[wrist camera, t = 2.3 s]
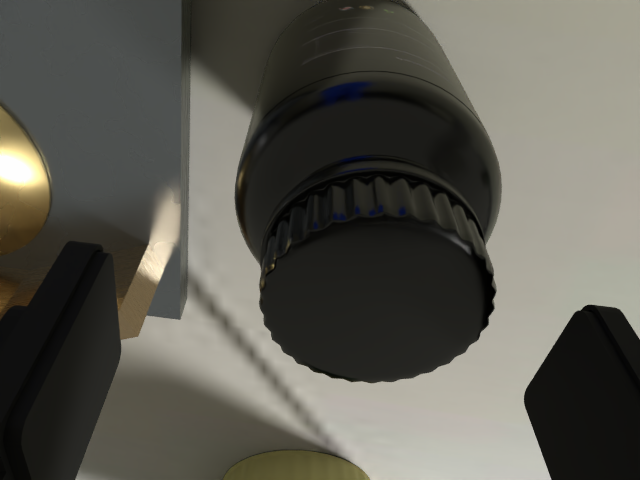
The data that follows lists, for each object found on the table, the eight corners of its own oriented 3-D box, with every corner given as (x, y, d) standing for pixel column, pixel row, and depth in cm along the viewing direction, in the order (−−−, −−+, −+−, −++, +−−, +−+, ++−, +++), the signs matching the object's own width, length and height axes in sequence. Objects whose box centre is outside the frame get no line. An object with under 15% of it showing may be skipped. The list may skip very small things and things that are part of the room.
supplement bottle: (430, 167, 22) (501, 421, 13) (267, 160, 22) (217, 409, 13) (464, -9, 18) (605, 175, 9) (262, -18, 18) (182, 157, 9)
